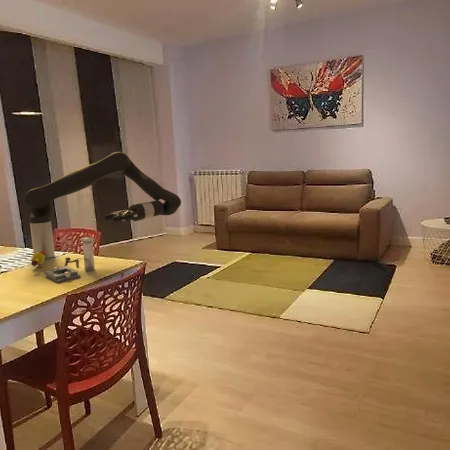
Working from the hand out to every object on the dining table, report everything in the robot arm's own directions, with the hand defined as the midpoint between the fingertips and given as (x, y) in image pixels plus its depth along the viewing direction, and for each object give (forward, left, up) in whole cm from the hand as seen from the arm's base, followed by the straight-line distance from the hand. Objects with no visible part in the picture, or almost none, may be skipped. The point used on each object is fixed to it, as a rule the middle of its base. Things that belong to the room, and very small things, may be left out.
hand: (108, 218), depth 175 cm
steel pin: (-1, -10, -21) cm, 23 cm away
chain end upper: (-1, -22, -21) cm, 30 cm away
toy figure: (-23, -23, -21) cm, 39 cm away
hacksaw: (-14, -10, -21) cm, 28 cm away
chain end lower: (-1, -22, -21) cm, 30 cm away
